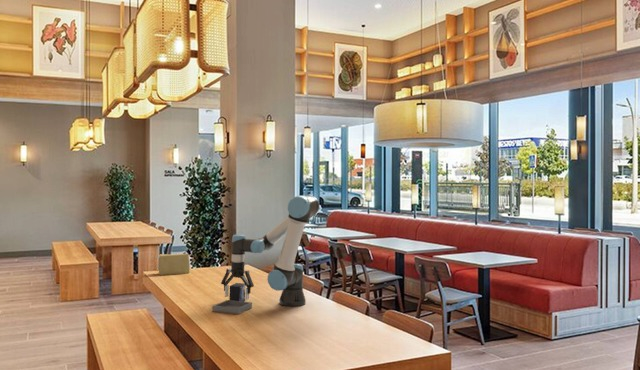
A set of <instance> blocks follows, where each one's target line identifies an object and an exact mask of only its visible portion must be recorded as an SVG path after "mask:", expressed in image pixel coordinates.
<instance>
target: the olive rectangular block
mask: <svg viewBox="0 0 640 370" xmlns="http://www.w3.org/2000/svg"><path fill="white" fill-rule="evenodd" d="M158 258H159V259H158V275H159V276H167V275H183V274H185V273H187V274H190V265H191V263H190V255H189V253H175V254H173V253H171V254H166V253H159V255H158Z"/></svg>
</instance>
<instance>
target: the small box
mask: <svg viewBox="0 0 640 370" xmlns="http://www.w3.org/2000/svg"><path fill="white" fill-rule="evenodd" d="M246 287H247V286H246V285H245V283H244V282H243V283H241V282H235V283H233V284H231V285H229V295H228V300H233V301H242V302H246Z"/></svg>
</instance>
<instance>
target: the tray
mask: <svg viewBox="0 0 640 370" xmlns="http://www.w3.org/2000/svg"><path fill="white" fill-rule="evenodd" d="M252 308H253V302H250V301H249V302H248V301H244V302H242V301H233V300H229V299H226V300H224V301H222V302H219V303H216V304H214V305H212V309H211V310H212V312H213V311H214V312H215V313H223V314H230V313H231V315H240V314H242V313H244V312H246V311H248V310H251V309H252Z"/></svg>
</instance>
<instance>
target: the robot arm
mask: <svg viewBox="0 0 640 370" xmlns="http://www.w3.org/2000/svg"><path fill="white" fill-rule="evenodd" d="M287 211H288V216H287V217H286V218H284V219H283V220H282V221H281V222H280V223H278V224H277V225H275V227H274V228H272V229H271V230H270V231H269V232H267V233H266V234H265V235H263V236H262V237H261V238H254V239H253V238H246V235H245V234H233V235H232V239H231V240H232V241H231V259H230V260H231V263H230V264H231V266H230V267H231V268H226V270H225V274H224V276H223V278H222V280H221V282H220V284H221V285H223V291H224V297H225V298H229V293H230V285H229V284H230V282H231V281H232V280H233V279H234V278H238V279H241V280H242V282H243V284H245V285H246V286H245V301H246V300H247V301H248V300H249V299H250V294H251V289H252V288H253V287H255V285H254V282H253V280H252V277H251V274H250V270H245V259H246V258H245V255H246V253H251V254H262V253H263V252H264V251H269V250H271V249H273V248H274V246H275V245H276V243H278V242H279V241H280V240H281V239H283V238H284V240H283V243H282V247H281V250H280V254H279V257H278V260H277V261H276V262H274V265H273V268H272V270H271V271H270V272H268V275H267V278H266V279H267V283H268V285H269V287H270V288H271V289H272V290H274V291H277V292H278V291H281V294H280V297H279V304H280V305H281V306H286V307H301V306H304V305H306V297H305V294H304V266H303V264H301V263H295V260H296V257H297V254H298V250H299V246H300V243H301V240H302V237H303V233H304V230H305V226H306V225H307V224H309V222H310V219H312V217H314V216H315V215H316V214H318V212H319V211H320V202H319V200H318V198H316V197H315V196H313V195H303V194H302V195H301V194H300V195H296V196H294V197H292V198H291V199H290V200H289V202H288V203H287ZM230 273H231V274H230ZM229 275H230V276H229Z"/></svg>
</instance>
